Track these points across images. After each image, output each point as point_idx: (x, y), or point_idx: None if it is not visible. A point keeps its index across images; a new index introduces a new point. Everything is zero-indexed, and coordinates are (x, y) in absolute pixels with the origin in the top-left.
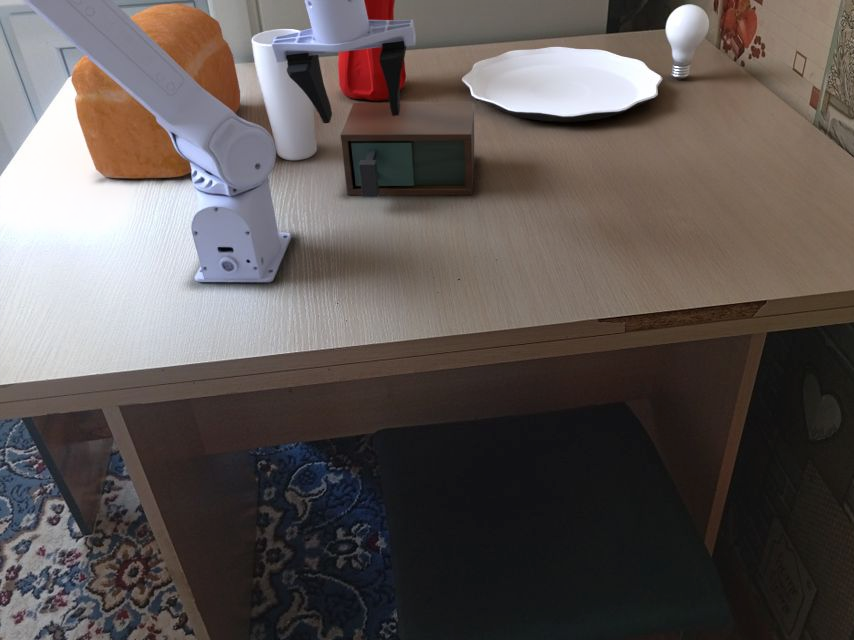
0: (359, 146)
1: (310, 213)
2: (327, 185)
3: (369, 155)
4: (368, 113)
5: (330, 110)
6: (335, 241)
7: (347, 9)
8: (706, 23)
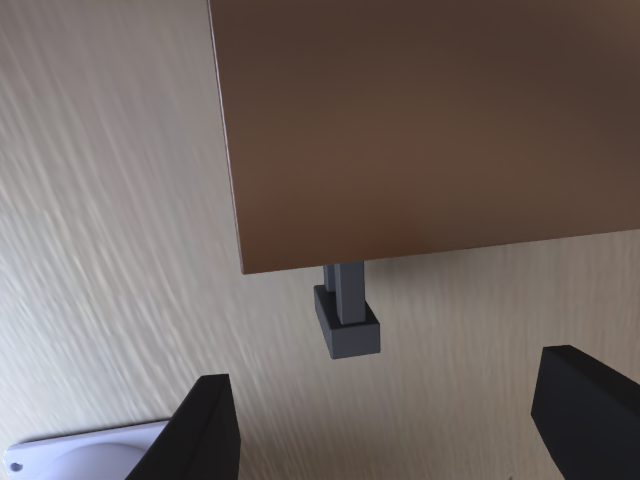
0: None
1: (179, 314)
2: (168, 157)
3: (348, 280)
4: (311, 14)
5: (227, 403)
6: (277, 413)
7: None
8: None
